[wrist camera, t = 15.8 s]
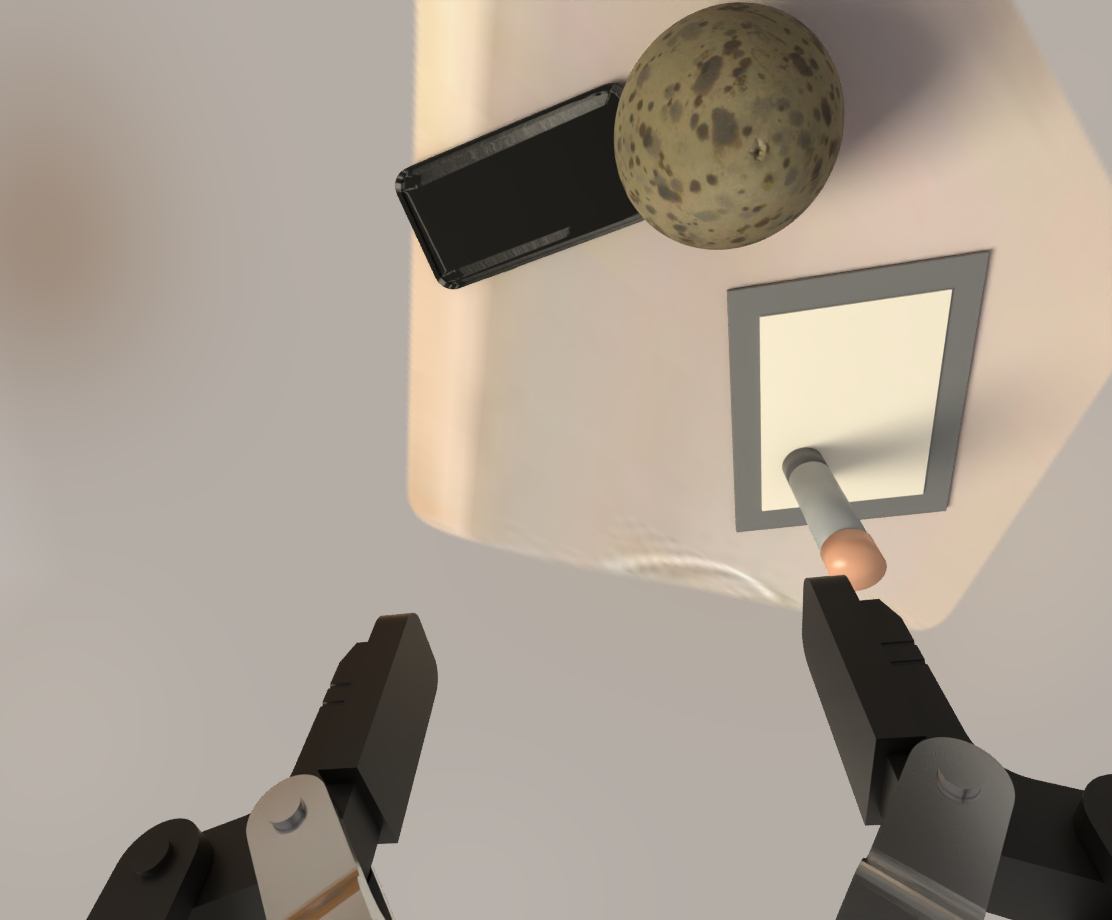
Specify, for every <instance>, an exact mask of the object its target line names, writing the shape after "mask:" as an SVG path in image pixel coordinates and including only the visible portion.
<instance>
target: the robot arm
mask: <svg viewBox="0 0 1112 920" xmlns="http://www.w3.org/2000/svg"><path fill="white" fill-rule="evenodd" d="M802 639H803V647H804V652H805V656H806V661H807V664H808V667H809V670H810V673H811V675H812V678H813V681H814V684H815V687H816V689H817V692H818V695H819V698H820V701H821V703H822V706H823V709H824V711H825V715H826V717H827V720H828V723H829V726H830V729H831V731H832V734H833V737H834V740H835V743H836V745H837V748H838V751H839V754H840V757H841V759H842V762H843V765H844V768H845V771H846V773H847V776H848V779H849V782H850V784H851V787H852V790H853V793H854V796H855V798H856V801H857V804H858V807H859V810H860V813H861V815H862V818H863V821H864V824H865V825H881V826H880V828H879V831H878V833H877V835H876V838H875V840H874V843H873V845H872V848H871V850H870V852H869V854H868V856H867V858H866V859H865V858H863V859H862V860H861V862H860V864H859V866H858V868H857V870H856V872H855V874H854V876H853V879H852V881H851V884H850V886H849V888H848V891H847V893H846V896H845V898H844V901H843V903H842V905H841V908H840V910H839V913H838V915H837V918H836V920H984V917H985V913H986V912H988V913H992V914H995V915H998V916H1002V917H1005V918H1008V919H1012V920H1112V774H1108V775H1104V776H1099V777H1097V778H1095V779H1093V780H1092V781H1091V782H1090V783H1089V784H1088V785H1087V787H1086V788H1085V790H1079V789H1075V788H1070V787H1066V786H1061V785H1057V784H1052V783H1047V782H1043V781H1039V780H1034V779H1031V778H1027V777H1024V776H1021V775H1018V774H1016V773H1013V772H1011V771H1009V770H1007V769H1005V768H1003V766H1002V765H1001V764H1000V763H999V762H998V761H997V760H996V759H995V758H993V757H992V756H991V755H990V754H988V753H987V752H985V751H984V750H982V749H981V748H979V747H977V746H975V745H974V744H973V743H972V741H971V740H970V739H969V737H968V736H967V734H966V733H965V731H964V729H963V727H962V725H961V724H960V722H959V720H958V718H957V716H956V715H955V713H954V711H953V709H952V707H951V706H950V704H949V702H948V700H947V699H946V697H945V695H944V693H943V691H942V690H941V688H940V686H939V684H938V682H937V681H936V679H935V677H934V675H933V674H932V672H931V670H930V668H929V666H928V665H927V664H925V659H924V657H923V656H922V654H921V652H920V650H919V648H918V647H917V645H915V644H914V640H913V638H912V636H911V634H910V632H909V631H908V629H907V627H906V625H905V623H904V622H903V620H902V618H901V617H900V616H899V615H897V614H896V613H895V612H894V611H893V610H891V609H890V608H889V607H888V606H887V605H885V604H884V603H883V602H882V601H881V600H880V599H873V600H862V601H859V599H858V597H857V595H856V593H855V591H854V589H853V587H852V585H851V582H850V581H849V579H848V577H847V576H846V575H834V576H824V577H813V578H805V580H804V587H803V619H802ZM437 684H438V672H437V665H436V661H435V658H434V656H433V653H432V650H431V648H430V645H429V642H428V640H427V638H426V635H425V632H424V629H423V627H422V625H421V622H420V619H419V617H418V616H417V614H415V613H407V614H397V615H385V616H380V617H379V618H378V619H377V621H376V623H375V625H374V628H373V630H372V633H371V635H370V638H369V640H368V642H361V643H356V644H355V646H354V647H353V648H352V649H351V650H350V651H349V652H348V654H347V655H346V656H345V657H344V659H342V660H341V662H340V663H339V665H338V667H337V670H336V672H335V674H334V677H333V679H332V681H331V684H330V689H328V691H327V693H326V695H325V698H324V700H323V706H322V707H320V709H319V712H318V714H317V716H316V718H315V721H314V723H313V725H312V728H311V730H310V732H309V735H308V737H307V739H306V742H305V744H304V746H303V749H302V751H301V753H300V756H299V758H298V760H297V762H296V765H295V767H294V769H293V772H292V774H291V776H290V777H289V778H287V779H285V780H283V781H281V782H279V783H278V784H276V785H275V786H273V787H272V788H271V789H270V790H268V791H267V792H266V793H265V794H264V795H263V796H262V797H261V798H260V800H259V801H258V802H257V804H256V805H255V807H254V808H253V810H252V812H251V813H250V814H248V815H246V816H243V817H241V818H238V819H236V820H233V821H230V822H227V823H225V824H222V825H219V826H217V827H214V828H211V829H209V830H206V831H203V832H201V831H200V830H199V829H198V828H197V826H196V825H195V824H194V823H193V822H192V821H190V820H188V819H172V820H168V821H166V822H162V823H160V824H158V825H156V826H154V827H153V828H151V829H149V830H148V831H147V832H145V833H144V834H143V835H141V836H140V837H139V838H138V839H137V840H136V841H134V842H133V844H132V845H131V846H130V847H129V848H128V849H127V850H126V852H125V853H124V854H123V855H122V857H121V858H120V860H119V862H118V863H117V865H116V867H115V869H114V871H113V872H112V874H111V876H110V878H109V880H108V881H107V883H106V885H105V887H104V889H103V890H102V893H101V894H100V896H99V898H98V900H97V902H96V903H95V905H94V907H93V909H92V910H91V912H90V914H89V916H88V918H87V919H86V920H395V918H394V916H393V913H392V911H391V908H390V906H389V903H388V901H387V899H386V896H385V893H384V891H383V889H382V886H381V884H380V881H379V879H378V876H377V874H376V872H375V869H374V867H373V866H372V861H373V858H374V854H375V851H376V847H377V844H386V843H398V840H399V836H400V832H401V828H402V824H403V820H404V817H405V813H406V809H407V805H408V801H409V797H410V793H411V789H412V785H413V781H414V777H415V773H416V770H417V766H418V762H419V758H420V754H421V750H422V746H423V742H424V738H425V734H426V730H427V727H428V723H429V719H430V715H431V711H432V707H433V703H434V699H435V695H436V691H437Z"/></svg>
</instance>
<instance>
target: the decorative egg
mask: <svg viewBox="0 0 1112 920" xmlns="http://www.w3.org/2000/svg"><path fill="white" fill-rule="evenodd" d="M843 124H844V101H843V93H842V88H841V84H840V80H839V77H838V74H837V71H836V68H835V66H834V64H833V62H832V59H831V58H830V56H829V54H828V52H827V51H826V49H825V47H824V46H823V44H822V43H821V42H820V41H819V39H818V38H817V37H816V36H815V34H813V33H812V32H811V31H810V30H809V29H808V28H807V27H806V26H805V25H804V24H803V23H801V22H800V21H798V20H797V19H795V18H794V17H792V16H790V15H789V14H786V13H784V12H782V11H780V10H778V9H775V8H772V7H769V6H765V5H761V4H755V3H740V2H738V3H726V4H720V5H715V6H711V7H708V8H705V9H702V10H700V11H697V12H695V13H693V14H691V15H688V16H687V17H685V18H683V19H681V20H680V21H678V22H677V23H675V24H674V25H672V26H671V27H670V28H668V29H667V30H666V31H665V32H663V33H662V34H661V35H660V36H659V37H658V38H657V39H656V40H655V41H654V42H653V43H652V44H651V45H650V46H649V47H648V49H647V50H646V51H645V52H644V53H643V55H642V56H641V57H640V59H639V60H638V62H637V63H636V65H635V66H634V68H633V70H632V72H631V73H630V75H629V77H628V79H627V82H626V84H625V86H624V89H623V91H622V95H621V97H620V100H619V104H618V108H617V113H616V119H615V127H614V151H615V159H616V164H617V169H618V173H619V176H620V179H621V182H622V184H623V187H624V189H625V191H626V194H627V196H628V198H629V199H630V201H631V203H632V204H633V206H634V207H635V208H636V210H637V211H638V212H639V213H640V215H641V216H642V217H643V218H644V219H645V220H646V221H647V222H648V223H649V224H650V225H651V226H652V227H654V228H655V229H656V230H657V231H659V232H660V233H662V234H663V235H665V236H667V237H668V238H670V239H672V240H674V241H677V242H679V243H682V244H684V245H688V246H691V247H696V248H701V249H710V250H723V249H732V248H739V247H743V246H747V245H751V244H753V243H756V242H759V241H761V240H764V239H766V238H768V237H770V236H772V235H774V234H775V233H777V232H779V231H780V230H782V229H783V228H785V227H786V226H788V225H789V224H790V223H792V222H793V221H794V220H795V219H797V218H798V217H799V216H800V215H801V214H802V213H803V212H804V211H805V210H806V209H807V208H808V207H809V205H810V204H811V203H812V202H813V201H814V199H815V198H816V197H817V195H818V194H819V193H820V191H821V190H822V188H823V187H824V185H825V183H826V181H827V179H828V177H829V176H830V173H831V171H832V169H833V167H834V164H835V162H836V159H837V156H838V153H839V149H840V145H841V140H842V135H843Z"/></svg>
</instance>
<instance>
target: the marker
mask: <svg viewBox="0 0 1112 920" xmlns="http://www.w3.org/2000/svg"><path fill="white" fill-rule="evenodd" d="M782 470H783V473H784V475H785V477H786V479H787V481H788V483H789V486H790V488H791V490H792V492H793V494H794V496H795V498H796V501H797V503H798V505H799V507H800V509H801V511H802V513H803V516H804V518H805V520H806V522H807V524H808V526H809V528H810V531H811V533H812V535H813V537H814V539H815V541H816V543H817V546H818V548H819V550H820V555H821V558H822V560H823V562H824V565H825V567H826V569H827V571H828V573H829V575H830V576H834V575H846V576H847V577H848V579H849V581H850V582H851V585H852V587H853V589H854V591H858V590H863V589H866V588H869V587H871V586H873V585H875V584H876V583H877V582H879V581H880V580H881V579H882V577H883V576H884V574H885V572H886V568H887V565H886V561H885V559H884V557H883V556H882V554H881V552H880V551H879V549H878V547H877V545H876V544H875V542H874V540H873V539H872V537H871V536H870V535H869V534H868V533H867V532H866V530H865V528H864V527H863V525H862V523H861V522H860V520H859V518H858V516H857V515H856V513H855V511H854V510H853V508H852V506H851V504H850V503H849V501H848V499H847V498H846V496H845V494H844V493H843V491H842V489H841V487H840V486H839V484H838V482H837V481H836V479H835V477H834V475H833V474H832V472H831V470H830V469H829V467H828V465H827V463H826V462H825V460H824V458H823V457H822V455H821V453H820V452H819V451H817V450H816V449H813V448H809V447H803V448H799V449H796V450H794V451H792V452H790V453H789V454H788V455H787V456H786V457H785V459H784V461H783V464H782Z"/></svg>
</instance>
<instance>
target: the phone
mask: <svg viewBox="0 0 1112 920" xmlns="http://www.w3.org/2000/svg"><path fill="white" fill-rule="evenodd" d="M622 91H623V88H622V87H620V86H619V85H617V84H611V83H609V84H605V85H602V86H599V87H597V88H595V89H592V90H590V91H588V92H585V93H583V94H580V95H578V96H576V97H573V98H571V99H569V100H566V101H564V102H561V103H559V104H557V105H554V106H552V107H550V108H547V109H545V110H543V111H540V112H538V113H535V114H533V115H531V116H528V117H526V118H524V119H521V120H519V121H516V122H514V123H512V124H509V125H507V126H505V127H502V128H500V129H498V130H495V131H493V132H490V133H488V134H486V135H483V136H481V137H479V138H476V139H474V140H472V141H469V142H467V143H464V144H462V145H460V146H457V147H455V148H453V149H450V150H448V151H445V152H443V153H441V154H438V155H436V156H434V157H431V158H429V159H427V160H424V161H422V162H419V163H417V164H415V165H412V166H410V167H408V168H406V169H404V170H403V171H401V172H400V174H399V175H398V176H397V179H396V182H395V189H396V192H397V196H398V197H399V200H400V202H401V204H402V206H403V208H404V211H405V213H406V215H407V217H408V219H409V221H410V224H411V226H412V228H413V230H414V232H415V234H416V237H417V239H418V241H419V243H420V245H421V247H422V250H423V252H424V254H425V256H426V258H427V260H428V263H429V265H430V267H431V269H432V271H433V273H434V276H435V278H436V279H437V281H438V282H439V283H440V284H441V285H442V286H443V287H446V288H448V289H458V288H461V287H464V286H467V285H469V284H472V283H475V282H477V281H480V280H483V279H486V278H489V277H492V276H494V275H497V274H500V273H502V272H506V271H509V270H511V269H514V268H516V267H518V266H521V265H524V264H526V263H529V262H532V261H535V260H537V259H540V258H543V257H545V256H548V255H551V254H554V253H556V252H559V251H562V250H564V249H567V248H570V247H573V246H575V245H578V244H581V243H583V242H586V241H589V240H592V239H594V238H597V237H600V236H602V235H605V234H608V233H611V232H613V231H616V230H619V229H621V228H624V227H627V226H630V225H632V224H635V223H638V222H641V221H643V220H645V219H644V218H643V217H642V216H641V215H640V213H639V212H638V211H637V210H636V208H635V207H634V206H633V204H632V203H631V201H630V199H629V198H628V196H627V194H626V191H625V189H624V187H623V184H622V182H621V179H620V176H619V173H618V169H617V164H616V159H615V151H614V127H615V119H616V113H617V108H618V104H619V100H620V97H621V95H622Z"/></svg>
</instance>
